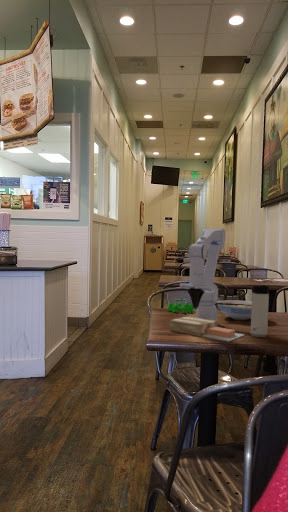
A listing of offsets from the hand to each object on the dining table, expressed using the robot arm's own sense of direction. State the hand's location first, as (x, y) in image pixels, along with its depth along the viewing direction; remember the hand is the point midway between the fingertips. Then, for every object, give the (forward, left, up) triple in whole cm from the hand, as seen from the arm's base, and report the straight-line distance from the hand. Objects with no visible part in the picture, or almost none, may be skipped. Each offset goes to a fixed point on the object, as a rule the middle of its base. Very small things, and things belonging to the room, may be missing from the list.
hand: (195, 307), depth 162 cm
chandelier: (-35, -29, -10) cm, 46 cm away
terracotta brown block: (0, +12, -9) cm, 15 cm away
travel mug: (-11, +23, -10) cm, 27 cm away
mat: (0, +13, -9) cm, 16 cm away
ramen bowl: (-39, +2, -10) cm, 40 cm away
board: (0, 0, -9) cm, 9 cm away
